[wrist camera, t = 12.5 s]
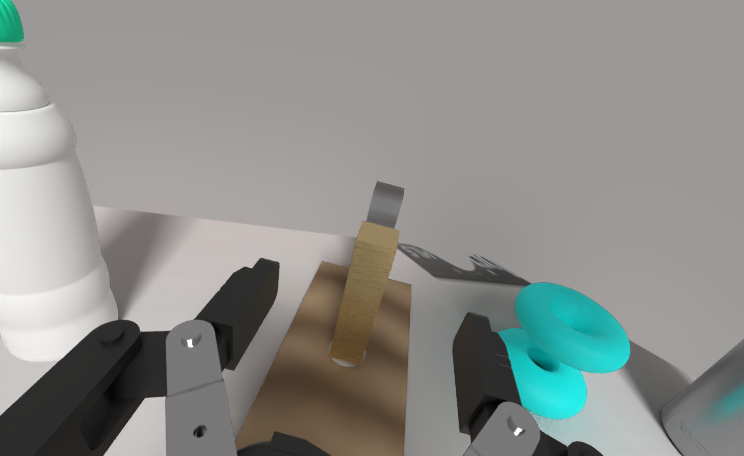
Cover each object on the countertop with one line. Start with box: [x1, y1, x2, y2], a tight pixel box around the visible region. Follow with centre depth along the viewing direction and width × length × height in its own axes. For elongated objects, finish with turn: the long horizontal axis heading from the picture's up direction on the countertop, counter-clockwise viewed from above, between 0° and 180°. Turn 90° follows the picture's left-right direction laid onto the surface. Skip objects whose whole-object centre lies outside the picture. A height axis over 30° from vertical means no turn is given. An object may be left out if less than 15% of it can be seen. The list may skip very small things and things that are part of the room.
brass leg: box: [329, 221, 399, 365], centre depth 27 cm, size 3×3×13 cm
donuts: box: [498, 282, 630, 419], centre depth 32 cm, size 10×10×10 cm
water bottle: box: [0, 0, 118, 362], centre depth 22 cm, size 7×7×25 cm
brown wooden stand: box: [235, 182, 411, 456], centre depth 29 cm, size 23×12×14 cm, turn 172°
